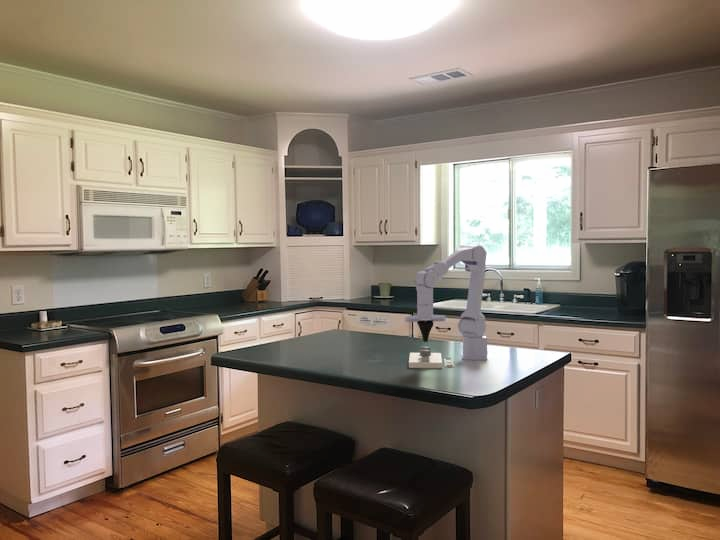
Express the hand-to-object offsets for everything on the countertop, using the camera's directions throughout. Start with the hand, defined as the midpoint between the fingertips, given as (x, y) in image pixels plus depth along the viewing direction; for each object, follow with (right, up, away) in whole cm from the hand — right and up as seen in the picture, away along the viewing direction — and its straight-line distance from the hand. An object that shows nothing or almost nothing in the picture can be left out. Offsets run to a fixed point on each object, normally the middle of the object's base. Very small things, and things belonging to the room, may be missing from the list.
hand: (425, 341), depth 213 cm
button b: (+1, -7, +6) cm, 10 cm away
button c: (0, -7, 0) cm, 7 cm away
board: (+1, -9, +7) cm, 11 cm away
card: (+9, -9, +6) cm, 14 cm away
